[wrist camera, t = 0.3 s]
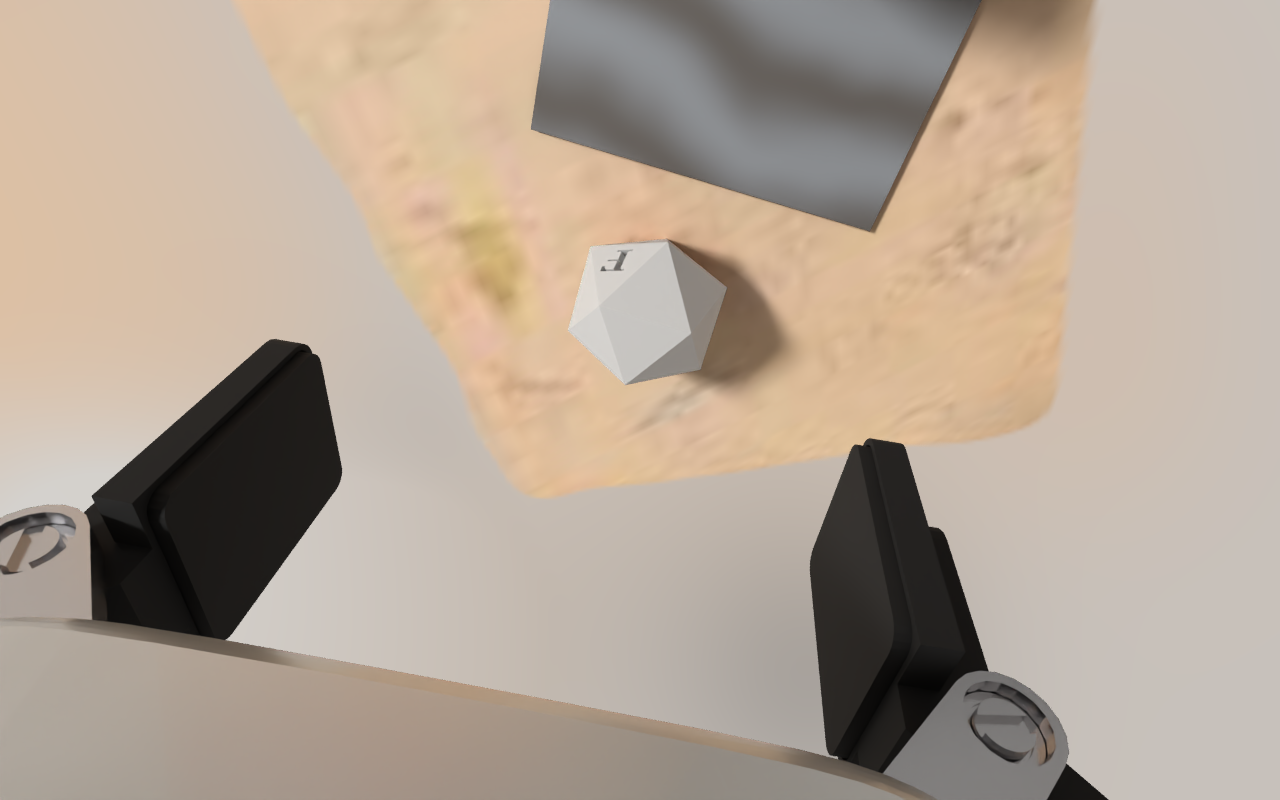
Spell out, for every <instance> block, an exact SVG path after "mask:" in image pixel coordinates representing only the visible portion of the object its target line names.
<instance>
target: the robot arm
mask: <svg viewBox="0 0 1280 800" xmlns="http://www.w3.org/2000/svg"><path fill="white" fill-rule="evenodd" d="M341 476H342V466H341V461H340V456H339V451H338V446H337V441H336V436H335V431H334V426H333V421H332V416H331V411H330V405H329V400H328V396H327V391H326V386H325V380H324V375H323V370H322V365H321V362H320V358H319V357H318V356H317V355H316V354H312V351H311V349H310V348H309V346H307V345H305V344H301V343H295V342H289V341H283V340H277V339H272V340H269V341H268V342H266V343H265V344H264V345H262V346H261V347H260V348H259V349H258V350H257V351H256V352H255V353H253V354H252V355H251V356H250V357H249V358H248V359H247V360H245V361H244V362H243V363H242V364H241V365H240V366H239V367H238V368H236V369H235V370H234V371H233V372H232V373H231V374H230V375H228V376H227V377H226V378H225V379H224V380H223V381H222V382H220V383H219V384H218V385H217V386H216V387H215V388H214V389H212V390H211V391H210V392H209V393H208V394H207V395H206V396H205V397H203V398H202V399H201V400H200V401H199V402H198V403H197V404H196V405H195V406H193V407H192V408H191V409H190V410H189V411H188V412H186V413H185V414H184V415H183V416H182V417H181V418H180V419H178V420H177V421H176V422H175V423H174V424H173V425H172V426H171V427H169V428H168V429H167V430H166V431H165V432H164V433H163V434H161V435H160V436H159V437H158V438H157V439H156V440H155V441H153V442H152V443H151V444H150V445H149V446H148V447H147V448H145V449H144V450H143V451H142V452H141V453H140V454H139V455H138V456H136V457H135V458H134V459H133V460H132V461H131V462H130V463H129V464H127V465H126V466H125V467H124V468H123V469H122V470H120V471H119V472H118V473H117V474H116V475H115V476H114V477H113V478H111V479H110V480H109V481H108V482H107V483H106V484H105V485H103V486H102V487H101V488H100V489H99V490H98V491H97V492H96V493H94V494H93V495H92V498H93V500H94V502H95V503H94V504H93V505H92V506H90V507H89V508H88V509H87V510H86V511H85V512H84V513H83V512H82V511H80V510H79V509H78V508H74V507H70V506H66V505H42V506H37V507H31V508H26V509H23V510H20V511H17V512H14V513H11V514H8V515H5V516H3V517H1V518H0V800H1108V799H1107V798H1106V797H1105V796H1104V795H1102V794H1101V793H1100V792H1099V791H1098V790H1097V789H1095V788H1094V787H1093V786H1092V785H1091V784H1090V783H1088V782H1087V781H1086V780H1085V779H1084V778H1083V777H1081V776H1080V775H1079V774H1078V773H1077V772H1076V771H1074V770H1073V769H1072V768H1071V767H1069V765H1067V764H1066V762H1067V758H1068V755H1069V749H1068V742H1067V736H1066V734H1065V732H1064V729H1063V727H1062V725H1061V723H1060V721H1059V719H1058V718H1057V716H1056V715H1055V714H1054V712H1053V711H1052V710H1051V709H1050V707H1049V706H1048V705H1047V703H1046V702H1045V701H1044V700H1042V699H1041V698H1040V697H1039V696H1038V695H1037V694H1035V692H1033V691H1032V690H1031V689H1030V688H1028V687H1026V686H1025V685H1023V684H1022V683H1020V682H1018V681H1017V680H1015V679H1013V678H1010V677H1008V676H1005V675H1002V674H999V673H997V672H989V671H988V668H987V665H986V662H985V658H984V655H983V652H982V649H981V646H980V642H979V639H978V636H977V633H976V630H975V627H974V624H973V620H972V617H971V614H970V611H969V608H968V605H967V602H966V598H965V595H964V592H963V589H962V586H961V583H960V580H959V576H958V574H957V570H956V567H955V564H954V561H953V558H952V554H951V551H950V548H949V545H948V542H947V539H946V537H945V535H944V533H943V532H942V531H941V530H940V529H939V528H934V527H928V523H927V520H926V516H925V513H924V510H923V506H922V503H921V500H920V496H919V493H918V490H917V486H916V483H915V479H914V476H913V472H912V469H911V466H910V462H909V459H908V455H907V452H906V449H905V447H904V445H903V444H901V443H895V442H889V441H883V440H877V439H871V438H869V439H867V440H866V441H865V443H864V445H863V446H861V445H854V446H853V447H852V449H851V451H850V454H849V457H848V459H847V462H846V464H845V467H844V470H843V472H842V475H841V477H840V480H839V483H838V485H837V488H836V490H835V493H834V496H833V498H832V501H831V504H830V506H829V509H828V511H827V514H826V517H825V519H824V522H823V524H822V527H821V530H820V532H819V535H818V537H817V540H816V543H815V545H814V548H813V551H812V555H811V560H810V577H811V588H812V598H813V609H814V620H815V631H816V641H817V652H818V662H819V674H820V683H821V695H822V706H823V716H824V728H825V738H826V747H827V751H828V753H829V755H832V756H837V757H838V759H834V758H830V757H826V756H823V755H819V754H815V753H811V752H807V751H803V750H799V749H795V748H789V747H785V746H780V745H775V744H771V743H766V742H761V741H756V740H751V739H747V738H742V737H737V736H732V735H727V734H723V733H718V732H713V731H708V730H703V729H698V728H694V727H688V726H683V725H677V724H673V723H667V722H662V721H657V720H652V719H647V718H641V717H636V716H631V715H626V714H620V713H615V712H610V711H605V710H599V709H594V708H589V707H583V706H579V705H573V704H568V703H563V702H558V701H553V700H548V699H542V698H537V697H531V696H526V695H521V694H515V693H510V692H504V691H499V690H494V689H488V688H483V687H478V686H472V685H467V684H462V683H457V682H451V681H446V680H440V679H435V678H430V677H424V676H419V675H414V674H408V673H403V672H397V671H392V670H387V669H381V668H376V667H370V666H365V665H359V664H353V663H348V662H343V661H337V660H331V659H326V658H321V657H315V656H310V655H303V654H298V653H293V652H288V651H282V650H276V649H271V648H265V647H260V646H254V645H249V644H243V643H238V642H232V641H227V640H226V639H227V638H228V637H230V635H231V634H232V633H233V632H234V630H235V629H236V627H237V626H238V625H239V623H240V622H241V621H242V619H243V618H244V616H245V615H246V614H247V612H248V611H249V610H250V608H251V607H252V605H253V604H254V603H255V601H256V600H257V599H258V597H259V596H260V594H261V593H262V592H263V590H264V589H265V587H266V586H267V585H268V583H269V582H270V580H271V579H272V578H273V576H274V575H275V573H276V572H277V571H278V569H279V568H280V567H281V565H282V564H283V562H284V561H285V560H286V558H287V557H288V555H289V554H290V553H291V551H292V550H293V549H294V547H295V546H296V544H297V543H298V542H299V540H300V539H301V538H302V536H303V535H304V533H305V532H306V530H307V529H308V528H309V526H310V525H311V524H312V522H313V521H314V519H315V518H316V517H317V515H318V514H319V512H320V511H321V510H322V508H323V507H324V505H325V504H326V503H327V501H328V500H329V499H330V497H331V496H332V494H333V493H334V492H335V490H336V489H337V487H338V485H339V483H340V480H341Z"/></svg>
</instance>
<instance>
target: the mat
mask: <svg viewBox="0 0 1280 800" xmlns="http://www.w3.org/2000/svg"><path fill="white" fill-rule="evenodd" d="M980 2H981V0H550V6H549V12H548V19H547V26H546V32H545V39H544V45H543V52H542V59H541V65H540V72H539V78H538V85H537V92H536V98H535V105H534V111H533V118H532V125H531V129H532V130H535V131H538V132H541V133H545V134H548V135H551V136H555V137H558V138H561V139H565V140H568V141H571V142H575V143H578V144H581V145H585V146H588V147H591V148H595V149H598V150H601V151H605V152H608V153H611V154H615V155H618V156H621V157H625V158H628V159H631V160H635V161H638V162H641V163H645V164H648V165H651V166H654V167H658V168H661V169H664V170H668V171H671V172H674V173H678V174H681V175H684V176H688V177H691V178H694V179H698V180H701V181H704V182H708V183H711V184H714V185H718V186H721V187H724V188H728V189H731V190H734V191H738V192H741V193H744V194H748V195H751V196H754V197H757V198H761V199H764V200H767V201H771V202H774V203H777V204H781V205H784V206H787V207H791V208H794V209H797V210H801V211H804V212H807V213H811V214H814V215H817V216H821V217H824V218H827V219H831V220H834V221H837V222H841V223H844V224H847V225H851V226H854V227H857V228H860V229H864V230H867V231H870V230H871V228H872V226H873V224H874V222H875V220H876V217H877V215H878V213H879V211H880V209H881V207H882V205H883V203H884V201H885V199H886V197H887V195H888V193H889V191H890V189H891V186H892V184H893V182H894V180H895V178H896V176H897V174H898V172H899V170H900V168H901V166H902V164H903V162H904V160H905V157H906V155H907V153H908V151H909V149H910V147H911V145H912V143H913V141H914V139H915V137H916V135H917V133H918V131H919V128H920V126H921V124H922V122H923V120H924V118H925V116H926V114H927V112H928V110H929V108H930V106H931V104H932V102H933V100H934V97H935V95H936V93H937V91H938V89H939V87H940V85H941V83H942V81H943V79H944V77H945V75H946V73H947V71H948V68H949V66H950V64H951V62H952V60H953V58H954V56H955V54H956V52H957V50H958V48H959V46H960V44H961V42H962V39H963V37H964V35H965V33H966V31H967V29H968V27H969V25H970V23H971V21H972V19H973V17H974V15H975V13H976V10H977V8H978V6H979V4H980Z"/></svg>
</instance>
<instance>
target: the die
mask: <svg viewBox="0 0 1280 800" xmlns="http://www.w3.org/2000/svg"><path fill="white" fill-rule="evenodd" d="M726 290H727V287H726V286H725V285H723V284H722V283H721V282H720V281H718V280H717V279H716V278H715V277H714V276H712V275H711V274H710V273H709V272H707V271H706V270H705V269H704V268H702V267H701V266H700V265H699V264H697V263H696V262H695V261H694V260H692V259H691V258H690V257H689V256H688V255H686V254H685V253H684V252H683V251H681V250H680V249H679V248H678V247H676V246H675V245H674V244H673V243H671V242H670V241H669V240H668V239H659V240H649V241H640V242H629V243H619V244H609V245H599V246H591V247H590V250H589V254H588V258H587V262H586V265H585V269H584V273H583V276H582V280H581V284H580V288H579V291H578V295H577V299H576V303H575V306H574V310H573V314H572V317H571V321H570V325H569V329H568V331H569V332H570V333H571V334H572V335H573V336H574V337H575V338H576V339H577V340H578V341H579V342H581V343H582V344H583V345H584V346H585V347H586V348H587V349H588V350H589V351H590V352H591V353H592V354H593V355H594V356H595V357H596V358H597V359H598V360H599V361H600V362H602V363H603V364H604V365H605V366H606V367H607V368H608V369H609V370H610V371H611V372H612V373H613V374H614V375H615V376H616V377H617V378H618V379H619V380H620V381H621V382H622V383H624V384H625V385H628V384H633V383H637V382H642V381H647V380H652V379H657V378H662V377H667V376H672V375H677V374H682V373H687V372H692V371H696V370H700V369H701V366H702V363H703V360H704V357H705V354H706V351H707V348H708V345H709V342H710V339H711V336H712V333H713V330H714V327H715V324H716V321H717V317H718V314H719V311H720V308H721V305H722V302H723V299H724V296H725V293H726Z"/></svg>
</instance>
